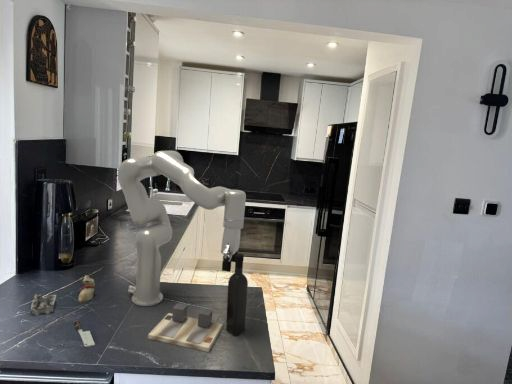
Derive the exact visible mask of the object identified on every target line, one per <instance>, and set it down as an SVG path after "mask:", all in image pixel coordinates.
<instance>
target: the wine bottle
mask: <svg viewBox="0 0 512 384" xmlns="http://www.w3.org/2000/svg"><path fill="white" fill-rule="evenodd" d="M244 256H245V254H243V253H239V252H238V254H236V255H235V262H234V263H235V264H234V265H235V266H234V273H233V274H231V275H230V276H229V279H228V283H227V299H226V300H227V305H226V324H225V326H226V327H225V330H226V331H227V332H228V333H229V334H231V335H232V336H234V337H236V336H239V335H241V334H242V333H244V332H245V331H246V317H247V302H248V301H247V300H248V289H249V288H248V286H249V281H248V278H247V277H246V275H245V274H244V273H243V268H244V259H245V258H244Z"/></svg>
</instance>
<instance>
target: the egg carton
mask: <svg viewBox="0 0 512 384" xmlns="http://www.w3.org/2000/svg"><path fill="white" fill-rule="evenodd" d="M56 298H57V294H50V295H48V294H46V296H43V295H42V294H37V293H35V294H34V295H33V300H32V303H31V306H30V311H31V315H34V316H39V315H40V314H46V315H48V314H50V313H52V312H54V308H55V302H56ZM48 302H49V305H48V304H47V303H48ZM38 303H39V307H38Z"/></svg>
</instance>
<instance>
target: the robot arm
mask: <svg viewBox="0 0 512 384" xmlns="http://www.w3.org/2000/svg"><path fill="white" fill-rule="evenodd" d="M160 175H163V176H164V177H165V178H167V179H168V180H170V181H171V182H173V183H174V184H176V185H177V186H178V187H180V189H181V191H182V192H183V194H184V195H185V196H186V197H187V198H188V200H189V201H192V202H193V203H194V204H196V205H198V206H199V207H201V208H202V209H205V210H208V211H209V210H210V211H211V210H214V209H218V208H220V207H224V210H223V213H224V214H223V223H222V227H223V228H224V229H223V233H222V240H221V248H220V249H221V250H220V254H223V256H222V264H221V270H222V271H223V272H228V273H231V270H232V263H235V255H236V254H238V253H239V248H240V244H241V231H242V230H241V229H244V222H245V210H246V199H247V195H246V192H245V191H243V190H240V189H231V188H227V187H226V186H225V187H224V186H215V187H211V188H209V187H207V186H205V185H204V184H202V183H201V182H200V181H199V180H197V178H195V171H194V168H193V167H192V166H190V165H188V164H187V163H185V162H184V159H183V156H182V155H181V153H180V152H178V151H176V150H159V151H157V152H155V153H153V155H151V156H140V157H139V156H136V157H135V156H134V157H130V158H127V159H125V160H123V161H122V162H121V163H120V165H119V167H118V169H117V180H118V183H119V186H120V188H121V190H122V194H123V195H124V198H125V203H126V205H127V207H128V211H129V215H130V217H131V219H132V221H133V223H134V224H136V225H138V226H140V225H145V224H149V225H147V226H146V227H143V228H141V229H140V230H139V231H138V232H137V233H136V235H135V238H134V242H135V249H136V251H135V252H136V280H135V282H136V283H135V285H129V286H128V290H127V293H130V294H132V296H131V302H132V304H134V305H136V306H139V307H153V306H156V305H158V304H159V303H161V302H163V299H164V296H163V293H162V292H160V291H161V288H160V287H161V270H162V269H161V267H162V265H161V264H162V257H161V256H162V255H161V253H160V250H159V248H160V247H162V246H164V245H166V244H167V243H169V242H170V241H171V239H172V237H173V227H172V224H171V221H170V219H169V215H168V212H167V209H166V207H165V205H164V203H163V202H162V201H161V200H160V199H158V198H149V196H148V193H147V190H146V188H145V186H144V185H143V184H142V182H141V181H140V180H141V179H145V178H153V177H157V176H160Z"/></svg>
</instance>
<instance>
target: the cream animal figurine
mask: <svg viewBox="0 0 512 384" xmlns="http://www.w3.org/2000/svg"><path fill="white" fill-rule="evenodd" d="M83 277H84V278H83V280H82V284H84V286H82V290H80V293H79V295H78V299H77V300H78V303H79V304H80V303H85V302H88V301H90V300H92V299H93V298H94V292H95V289H96V288H95V287H96V283H95V280H94V278H91V277H90V276H88V275H84V276H83Z"/></svg>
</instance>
